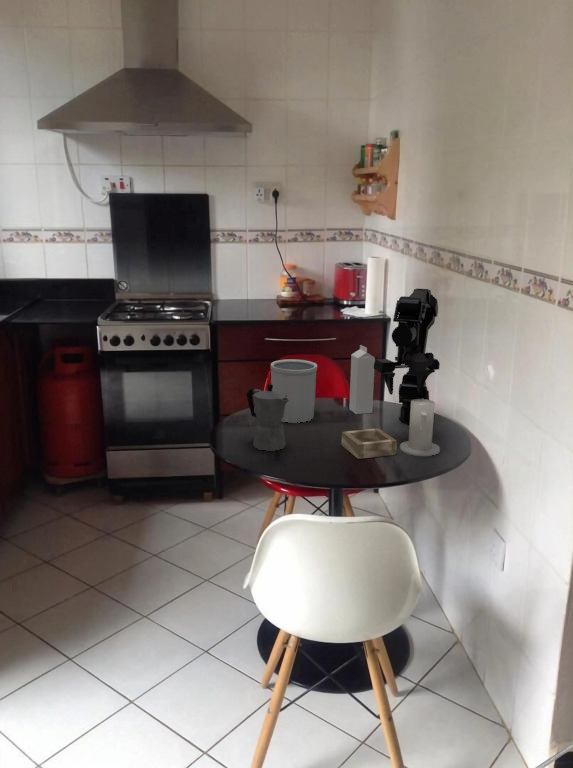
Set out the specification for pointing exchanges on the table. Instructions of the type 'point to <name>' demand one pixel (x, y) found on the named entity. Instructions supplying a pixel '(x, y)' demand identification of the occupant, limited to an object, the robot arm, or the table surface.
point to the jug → (421, 424)
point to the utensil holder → (295, 387)
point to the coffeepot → (268, 417)
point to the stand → (369, 443)
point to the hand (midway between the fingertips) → (405, 393)
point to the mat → (433, 451)
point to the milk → (361, 381)
